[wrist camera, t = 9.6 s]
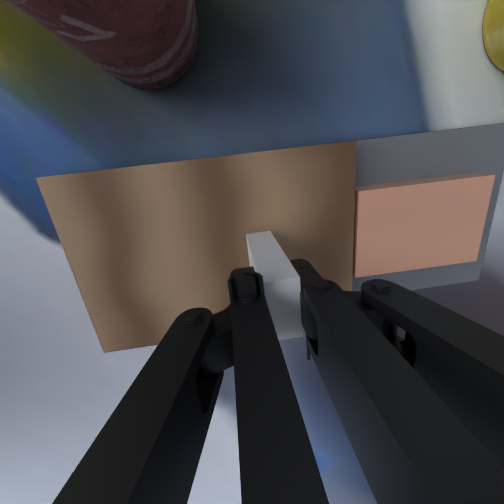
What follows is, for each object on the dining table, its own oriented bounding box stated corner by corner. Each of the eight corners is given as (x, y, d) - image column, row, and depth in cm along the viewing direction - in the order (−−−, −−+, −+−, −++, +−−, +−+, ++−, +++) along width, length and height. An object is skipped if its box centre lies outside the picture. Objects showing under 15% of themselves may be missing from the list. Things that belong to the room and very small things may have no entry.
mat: (337, 298, 21) (339, 300, 21) (338, 142, 17) (341, 142, 17) (474, 278, 22) (478, 280, 22) (508, 122, 18) (514, 122, 17)
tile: (343, 266, 20) (355, 277, 18) (345, 187, 18) (358, 191, 16) (453, 251, 20) (476, 260, 19) (468, 173, 18) (495, 174, 16)
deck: (117, 330, 21) (103, 352, 18) (62, 174, 16) (35, 177, 14) (337, 298, 21) (351, 315, 19) (338, 142, 17) (356, 140, 15)
